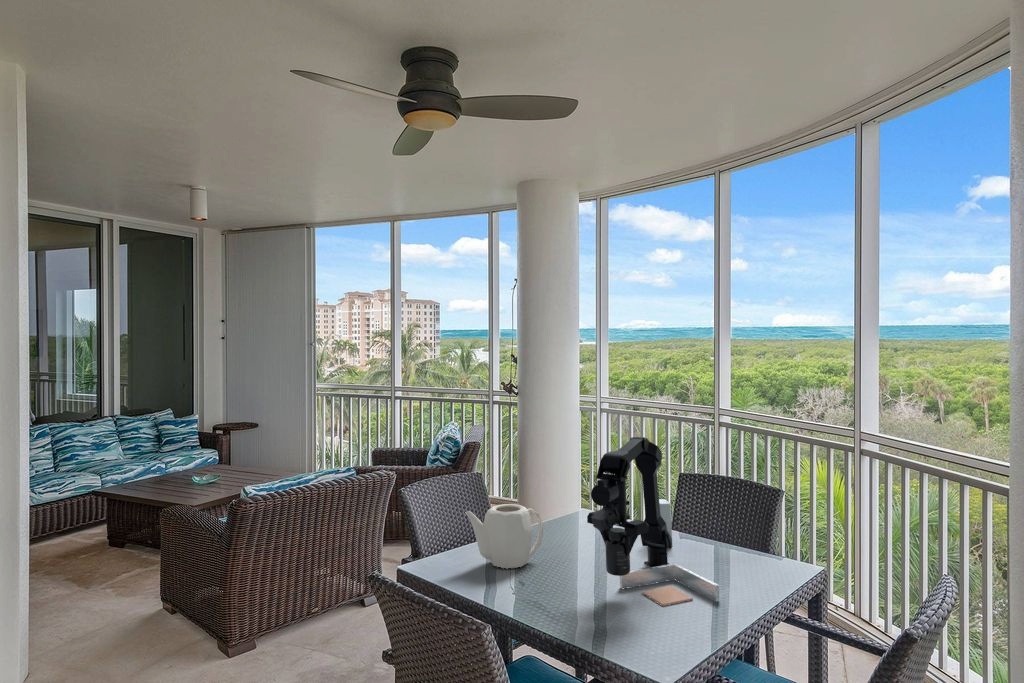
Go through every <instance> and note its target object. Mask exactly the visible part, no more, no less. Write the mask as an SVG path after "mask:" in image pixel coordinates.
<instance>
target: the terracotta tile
mask: <svg viewBox="0 0 1024 683" xmlns="http://www.w3.org/2000/svg"><path fill="white" fill-rule="evenodd" d="M641 593H643V594H642V595H644V594H645V595H646V596H645V595H644V596H645V597H647V596H648V597H650V598H651V599H650V598H649V599H650V600H652V599H653V600H654V601H653V600H652V601H653V602H655V601H656V602H655V603H657V602H658V603H659V604H658V603H657V604H658V605H660V604H661V605H662V606H661V605H660V606H661V607H667V606H666V605H668V606H670V605H669V604H673V605H676V604H675V603H678V604H681V603H680V602H682V603H685V602H684V601H687V602H691V601H690V600H692V601H693V597H691V596H690V595H687V594H686V593H684V592H682V591H681V590H679V589H678V588H675V587H674V586H672V585H669V586H663V587H659V588H654V589H649V590H643V591H641ZM648 597H647V598H648Z"/></svg>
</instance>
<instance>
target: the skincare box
mask: <svg viewBox="0 0 1024 683" xmlns="http://www.w3.org/2000/svg"><path fill="white" fill-rule="evenodd" d="M659 504H660V515H661V517H662V518H663V520H664V521H665V522H666V526H667V531H668V532H669V534H670V536H671V538H672V539H673V533H672V532H673V531H672V512H671V503H670V502H669V501H668V500H666V499H665V498H659Z"/></svg>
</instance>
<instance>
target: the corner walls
mask: <svg viewBox="0 0 1024 683" xmlns="http://www.w3.org/2000/svg"><path fill="white" fill-rule="evenodd" d="M672 579H676V580H677V581H676V580H675V581H676V582H678V581H679V582H678V583H680V582H681V583H683V584H685V585H687V586H689V587H690V588H689V587H688V588H689V589H691V588H692V589H691V590H693V589H694V590H695V591H694V590H693V591H694V592H696V591H697V592H696V593H698V594H700V595H702V596H704V597H706V598H707V599H710V600H711V601H714V603H719V602H720V584H718V583H715V582H714V581H712V580H710V579H708V578H705V576H701V575H700V574H698V573H695V572H694V571H691V570H690V569H688V568H687V567H686V568H685V567H684V566H681V565H679V564H677V563H669V564H667V565H662V566H656V567H650V566H649V567H646V568H641V569H640V568H639V569H634V570H630V572H629V573H628V574H627V575H623V576H619V589H620V588H627V587H633V586H639V585H644V586H647V585H646V584H649V585H653V584H652V583H655V584H657V583H656V582H660V583H663V582H662V581H665V582H667V581H666V580H671V581H673V580H672ZM681 583H680V584H681ZM683 584H682V585H683ZM685 585H684V586H685ZM687 586H686V587H687ZM639 587H640V586H639ZM633 588H634V587H633Z"/></svg>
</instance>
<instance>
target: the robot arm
mask: <svg viewBox="0 0 1024 683" xmlns="http://www.w3.org/2000/svg"><path fill="white" fill-rule="evenodd" d="M662 452H663V451H662V450H661V449H660V447H659V446H658V445H657V444H656V443H655V444H654V443H653V442H651V441H650V440H649V438H647V437H645V436H633V437H632V436H631V437H630V439H629V441H627V442H626V443H625V444H623V445H622V446H621V447H620V448H619V449H618V450H615V451H614V450H613V451H608V452H606V453H604V454H603V455H602V457H601V459H600V460H599V465H598V469H597V473H596V474H597V475H596V476H595V478H596V480H597V481H596V485H594V486H593V487H592V489H591V492H590V497H591V499H592V502H593V503H594V504H596V505H597V506H600V507H601V508H600V509H597V510H594V511H591V512H589V513H588V514H587V517H586V518H587V519H586V520H587V524H591V525H592V526H593V527H594V528H595V529H597V530H598V531H599V532H600V535H601V538H602V540H603V543H604V544H605V543H606V540H607V539H608V538H609V536H608V534H609V529H611V528H614V526H616V527H619V528H623V529H624V530H625V532H624V533H621V534H622V536H623V537H624V541H625V554H626V556H629V554H631V553H632V552H631V551H632V550H633V547H634V546H635V543H636V541H637V539H638V537H639V536H640V541H641V545H642V547H647V561H644V562H643V563H644V564H645V565H646V566H648V567H649V568H650V567H656V566H662V565H667V564H670V563H669V562H668V559H669V558H668V550H669V549H670V550H671V549H673V537H672V538H671V536H670V534H669V532H668V531H667V526H666V522H665V521H664V520H663V518H662V517H661V515H660V504H659V499H660V494H659V493H660V492H659V481H658V471H659V469H660V467H661V465H662V460H663V453H662ZM632 461H635V462H634V463H635V466H636V468H637V470H638V471H639V473H640V474H641V480H642V481H641V482H642V491H643V501H644V502H643V504H644V515H645V518H644V520H641V519H634V520H631V521H628V520H630V519H631V515H629V514H628V512H627V511H628V510H627V506H629V505H630V501H629V500H627V484H626V483H627V482H626V481H627V480H628V479H629V478H628V474H629V471H630V469H631V462H632Z"/></svg>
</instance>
